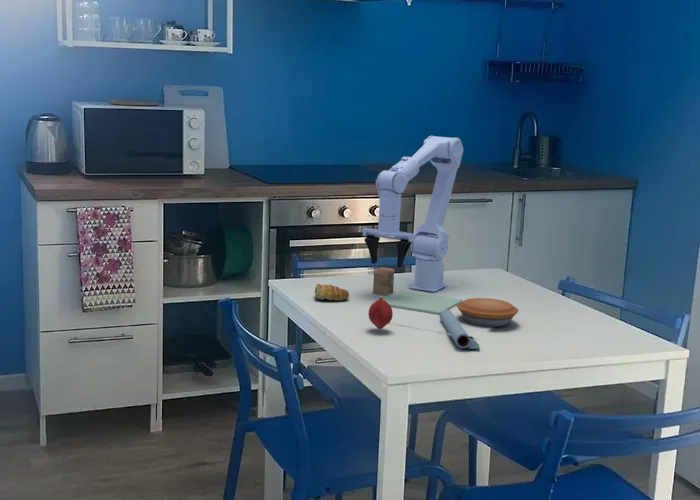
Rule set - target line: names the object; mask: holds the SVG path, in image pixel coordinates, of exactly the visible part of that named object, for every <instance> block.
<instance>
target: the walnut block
mask: <svg viewBox="0 0 700 500" xmlns="http://www.w3.org/2000/svg"><path fill="white" fill-rule="evenodd" d="M394 281H395V268H389V267H377V268H376V269H374V270H373V282H372V283H373V285H372V287H373V288H372V294H374V295H379V296H383V297H384V296H389V295H390V294H392V293H394V283H395V282H394Z"/></svg>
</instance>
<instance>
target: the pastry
mask: <svg viewBox="0 0 700 500" xmlns="http://www.w3.org/2000/svg"><path fill="white" fill-rule="evenodd" d="M314 297H315V298H316V299H318V300H325V299H326V300H329V301H333V300H334V302H335V301H343V300H348V299H349V297H350V292H349V291H348V290H346V289H345V288H340V287H339V286H334V285H332V284H321V283H317V284H316V285H315V289H314Z"/></svg>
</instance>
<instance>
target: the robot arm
mask: <svg viewBox="0 0 700 500" xmlns="http://www.w3.org/2000/svg"><path fill="white" fill-rule="evenodd" d="M463 153H464V146H463V143H462V141H461V139H460V137H447V136H435V135H430V136H428V137H427V138H426V139H424V140H423V145H422V146H421V147H420V148H419V149H418V150H417V151H416V152H415V153H414V154H413V155H412V156H403V157H401V158H400V161H398V162H397V163H395V164H394V165H393V166H391V168H390V169H388V170H386V169H385V170H382V171H381V172H379V174H378V175H377V178H376V180H375V187H376V189H377V195H378V198H379V208H378V209H379V210H378V228H368V227H365V228H363V229H362V237H364V243H365V244H366V247H367V249H368V251H369V256H370V261H371V264H373V265H374V264H377V263H378V256H379V255H378V250H379V243H380V239H381V238H382V239H387V240H397V241H396V246H397V258H396V259H397V260H396V262H397V263H396V265H397V268H401V267H403V265H404V262H405V258H406V255H407V253H408V251H409V249H410V251H411V253H412V254H413V257H414V258H415V266H414V267H415V269H414V270H415V271H414V282H413V283H414V284H413V285H410V286H408V288H409V289H413V290H420V291H424V292H425V291H426V292H433V293H435V292H437V291H439V290H442V289H443V288H446V284H443V283H444V272H445V271H444V270H445V269H444V268H445V264H444V262H443V260H444V258H445V257H446V255H447V253H448V250H449V237H450V235H449V234H448V232H447V231H446V229H444V223H445V219H446V215H447V212H448V207H449V204H450V199H451V196H452V191H453V188H454V183H455V180H456V176H457V172H458V169H460V166H461V162H462V158H463ZM427 162H430V163H431V164H432V165H433V167H435V168H436V171H437V174H436V177H435V182H434V185H433V189H432V192H431V193H432V194H431V197H430V201H429V205H428V209H427V213H426V218H425V221H424V223H422V224H421V225H419V226H418V227H417V228H416V230H415V232H414V233H411V232H406V231H401V230H400V226H401V225H400V222H401V221H400V219H401V206H402V205H401V203H402V193H404V192H405V191H406V188H407V185H408V184H409V181H411V180H412V179H414V178H415V177H416V176H417V175H418V174H419V172H420V167H422V166H424V165H425V164H427Z"/></svg>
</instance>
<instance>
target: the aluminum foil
mask: <svg viewBox="0 0 700 500" xmlns="http://www.w3.org/2000/svg"><path fill="white" fill-rule="evenodd" d="M439 320H440V321H441V323H442V324H443V326H444V327H445V329H446V330H447V332H448V333H449V335H450V336H451V339H452V340H453V341H454V342H455V344H456V346H457V347H458V348H460V349H478V350H479V349H481V347H480V345H479V343H478V342H477V341H476V340H474V337H473V336H471V335H469V334H468V333H467V332H466V330H465V328H464V327H463V326H462V325H461V323H460V321H459V320H458V319H457V317H456V316H455V315H454V313H453V312H452V310H451V309H449V310H443V311H442V312H441V313H440V315H439Z"/></svg>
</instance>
